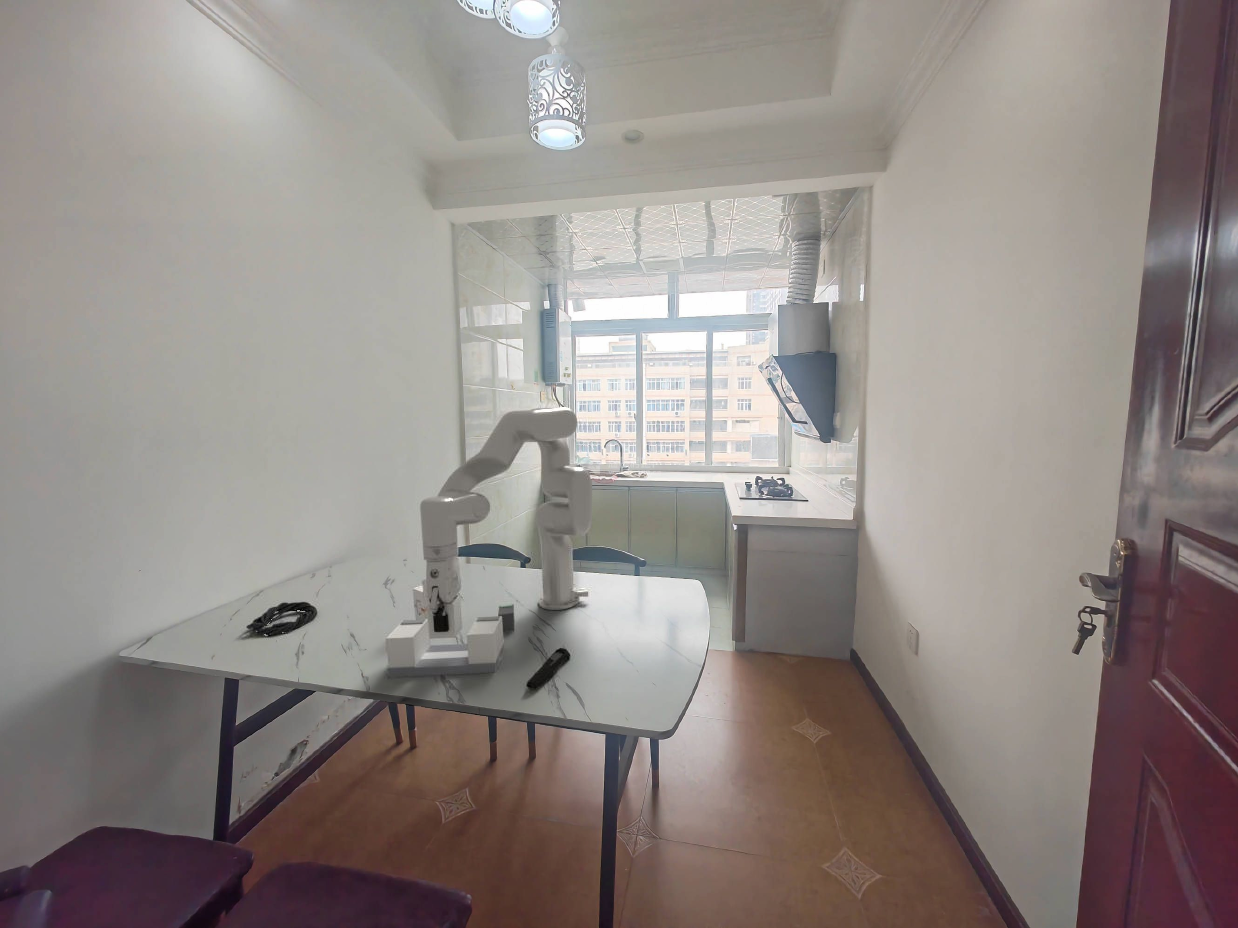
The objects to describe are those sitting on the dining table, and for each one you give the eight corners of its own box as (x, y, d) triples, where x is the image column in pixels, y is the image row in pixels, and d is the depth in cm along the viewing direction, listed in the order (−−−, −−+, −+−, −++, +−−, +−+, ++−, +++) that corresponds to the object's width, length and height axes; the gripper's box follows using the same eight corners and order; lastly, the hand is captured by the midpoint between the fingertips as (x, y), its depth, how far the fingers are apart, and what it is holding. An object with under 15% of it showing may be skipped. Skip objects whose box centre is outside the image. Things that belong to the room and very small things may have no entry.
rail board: (504, 649, 115) (502, 614, 114) (495, 672, 105) (492, 633, 104) (406, 654, 114) (403, 618, 113) (388, 677, 104) (384, 638, 103)
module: (462, 627, 111) (460, 594, 110) (455, 637, 106) (453, 602, 105) (436, 628, 111) (434, 595, 110) (429, 638, 106) (426, 603, 105)
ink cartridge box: (441, 616, 135) (438, 568, 133) (452, 620, 132) (449, 571, 130) (415, 628, 127) (411, 577, 126) (426, 633, 125) (422, 580, 123)
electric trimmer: (521, 693, 97) (520, 679, 97) (558, 655, 112) (557, 643, 111) (537, 696, 96) (536, 682, 96) (572, 658, 110) (571, 645, 110)
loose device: (514, 620, 131) (513, 603, 130) (514, 630, 125) (513, 611, 124) (500, 622, 130) (499, 604, 129) (499, 632, 124) (498, 613, 124)
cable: (294, 609, 144) (293, 596, 143) (333, 611, 141) (332, 598, 141) (240, 635, 127) (238, 620, 127) (283, 638, 124) (281, 623, 124)
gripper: (444, 561, 98) (450, 642, 100) (467, 539, 115) (472, 609, 117) (409, 562, 98) (415, 644, 99) (437, 541, 114) (442, 611, 116)
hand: (445, 624), depth 108 cm, fingers closed on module, 5 cm apart
